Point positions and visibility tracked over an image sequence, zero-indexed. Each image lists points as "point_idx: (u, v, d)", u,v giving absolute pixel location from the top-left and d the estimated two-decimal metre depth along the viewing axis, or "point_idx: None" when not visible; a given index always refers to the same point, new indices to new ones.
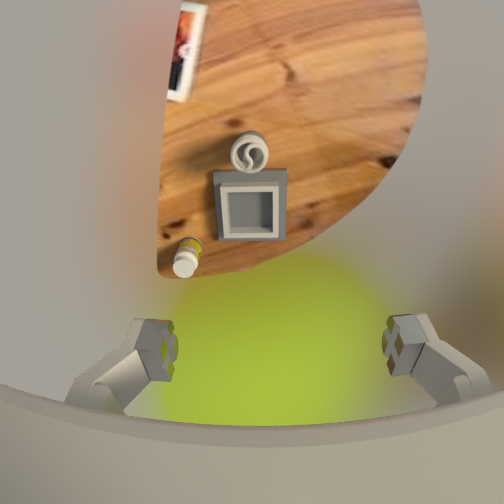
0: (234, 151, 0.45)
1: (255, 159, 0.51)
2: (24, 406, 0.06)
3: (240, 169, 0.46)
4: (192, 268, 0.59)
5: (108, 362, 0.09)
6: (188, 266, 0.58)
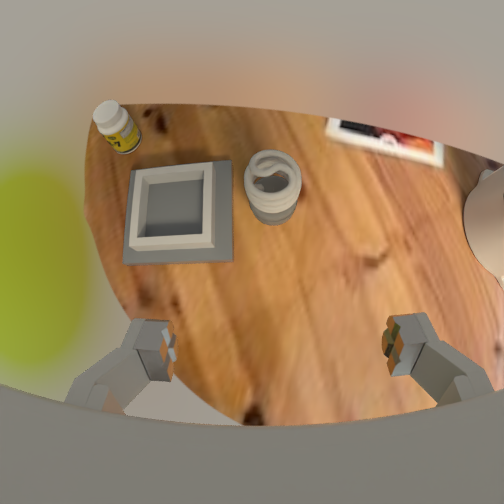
0: (281, 154, 0.30)
1: None
2: (24, 406, 0.06)
3: (253, 160, 0.29)
4: (103, 121, 0.36)
5: (108, 362, 0.09)
6: (108, 116, 0.36)
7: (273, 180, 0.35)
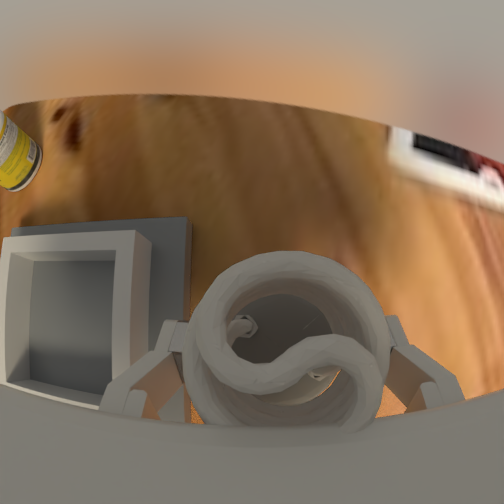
0: (328, 275, 0.08)
1: None
2: (24, 406, 0.06)
3: (214, 308, 0.07)
4: None
5: (143, 366, 0.09)
6: None
7: (284, 302, 0.13)
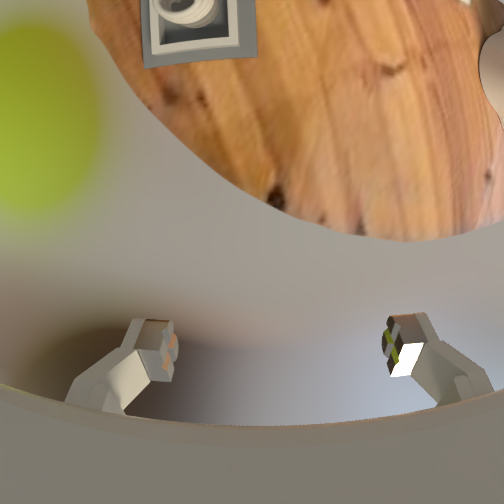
0: None
1: None
2: (24, 406, 0.06)
3: None
4: None
5: (108, 362, 0.09)
6: None
7: None
